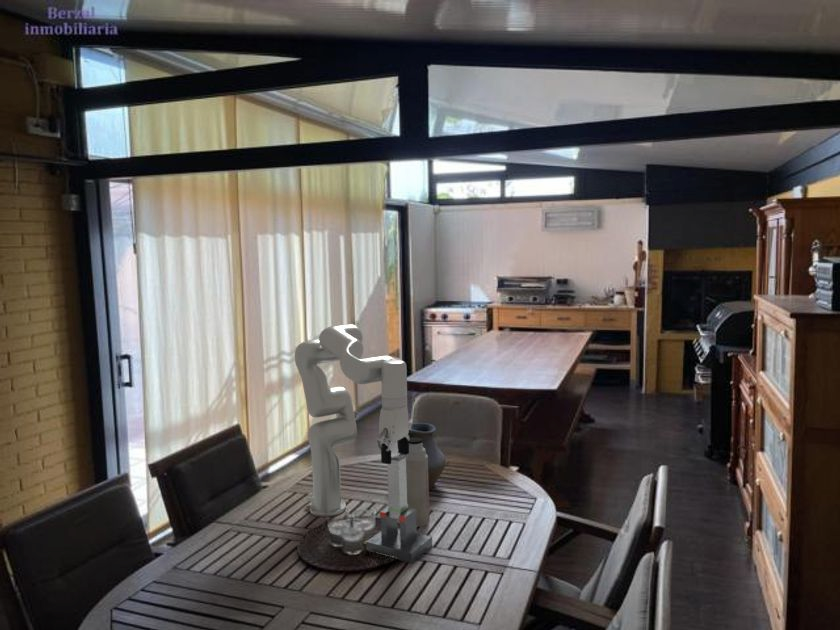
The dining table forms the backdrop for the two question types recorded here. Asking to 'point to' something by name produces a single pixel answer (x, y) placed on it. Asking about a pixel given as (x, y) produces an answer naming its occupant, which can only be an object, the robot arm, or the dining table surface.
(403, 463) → the column
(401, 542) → the base
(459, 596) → the dining table surface
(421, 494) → the thermos bottle
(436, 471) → the pitcher
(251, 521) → the dining table surface
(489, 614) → the dining table surface
